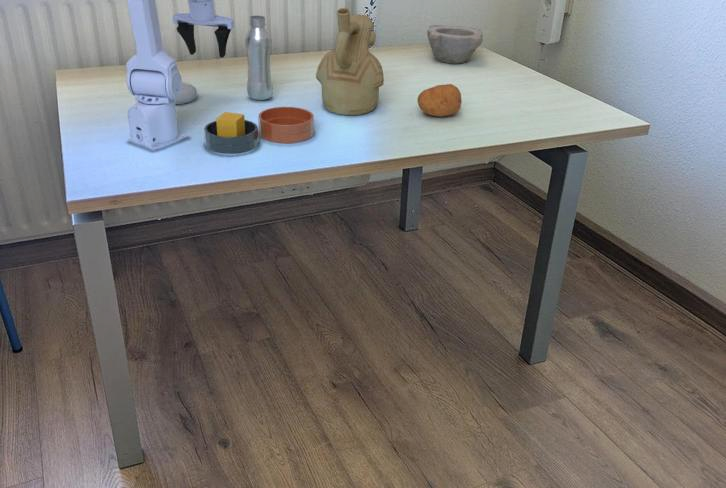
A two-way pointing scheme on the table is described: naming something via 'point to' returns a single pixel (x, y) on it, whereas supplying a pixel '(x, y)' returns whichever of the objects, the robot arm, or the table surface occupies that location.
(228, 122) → the block
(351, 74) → the ceramic vessel
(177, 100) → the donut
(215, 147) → the pot
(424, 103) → the potato
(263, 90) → the silver bottle
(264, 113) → the bowl
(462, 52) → the mortar
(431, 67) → the table surface
